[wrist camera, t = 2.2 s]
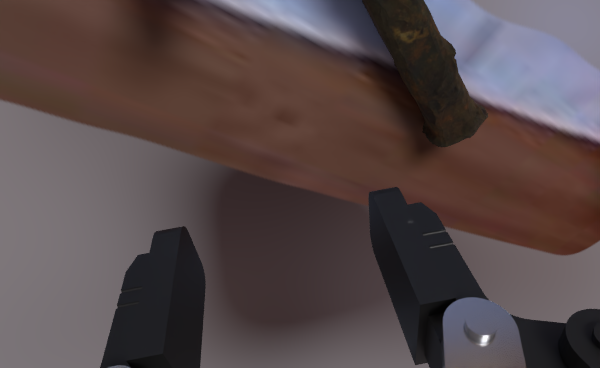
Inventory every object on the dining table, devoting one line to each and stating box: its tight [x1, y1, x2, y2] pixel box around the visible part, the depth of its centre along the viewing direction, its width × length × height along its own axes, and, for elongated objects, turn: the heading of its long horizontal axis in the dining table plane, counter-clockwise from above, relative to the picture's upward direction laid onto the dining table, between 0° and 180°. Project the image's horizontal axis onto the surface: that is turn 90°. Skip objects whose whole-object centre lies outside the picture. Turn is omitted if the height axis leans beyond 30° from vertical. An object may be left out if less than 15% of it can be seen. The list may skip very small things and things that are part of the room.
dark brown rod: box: [362, 0, 488, 147], centre depth 23 cm, size 19×4×5 cm, turn 32°
